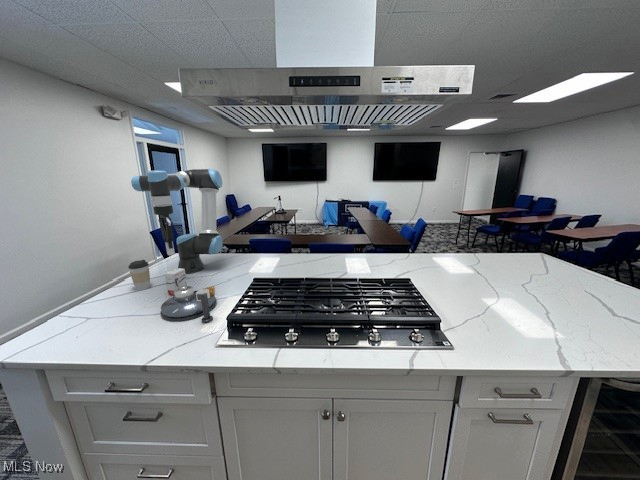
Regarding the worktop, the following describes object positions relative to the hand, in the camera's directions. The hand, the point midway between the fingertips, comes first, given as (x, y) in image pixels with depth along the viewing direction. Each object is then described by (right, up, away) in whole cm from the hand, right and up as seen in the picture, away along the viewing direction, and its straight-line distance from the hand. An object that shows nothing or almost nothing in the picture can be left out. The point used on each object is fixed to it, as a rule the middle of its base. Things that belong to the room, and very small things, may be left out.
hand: (171, 254), depth 120 cm
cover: (+8, -20, -3) cm, 22 cm away
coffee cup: (-26, -19, +17) cm, 36 cm away
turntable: (+12, -23, -6) cm, 26 cm away
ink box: (-3, -21, +11) cm, 24 cm away
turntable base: (+12, -24, -5) cm, 28 cm away
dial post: (+25, -27, -16) cm, 40 cm away
